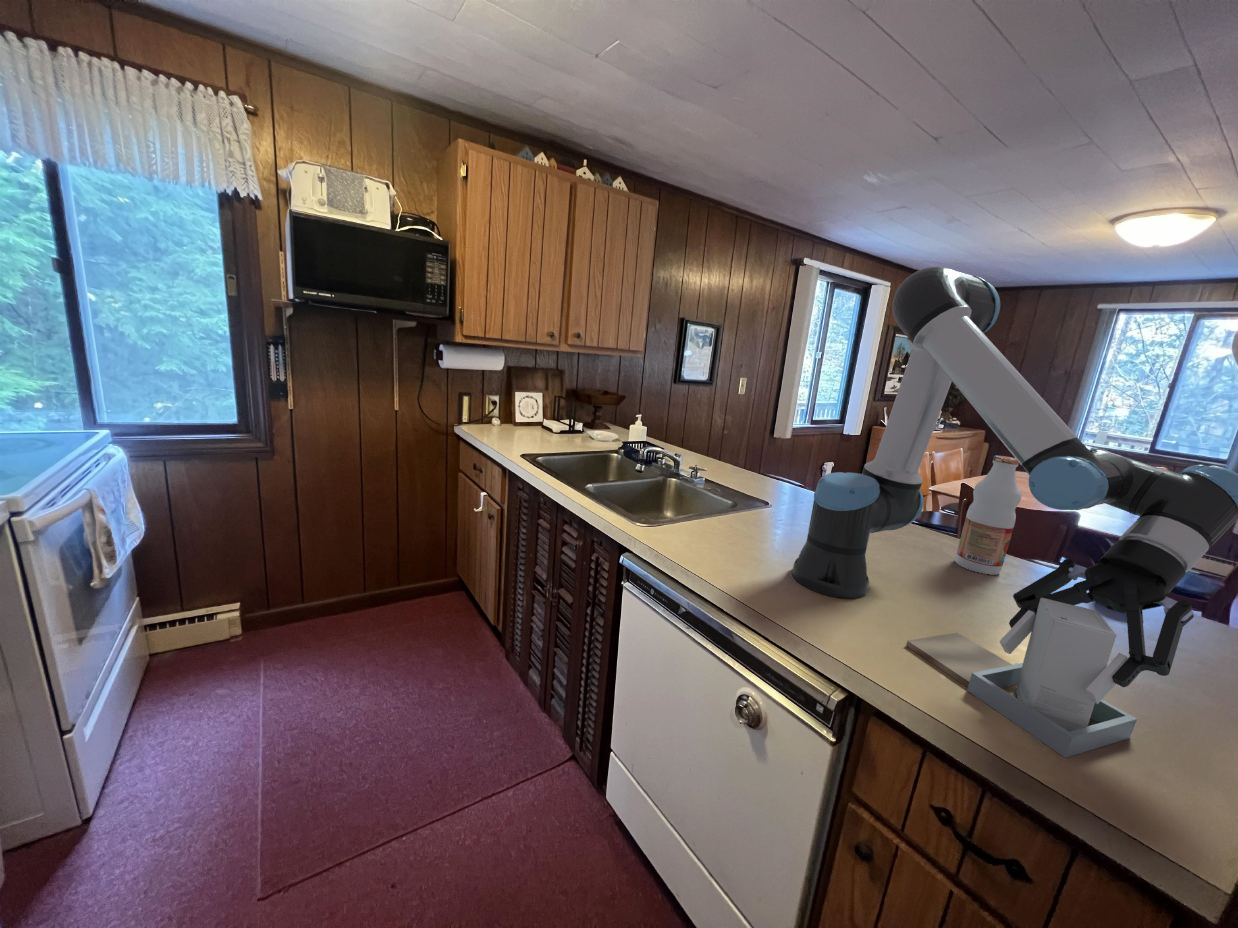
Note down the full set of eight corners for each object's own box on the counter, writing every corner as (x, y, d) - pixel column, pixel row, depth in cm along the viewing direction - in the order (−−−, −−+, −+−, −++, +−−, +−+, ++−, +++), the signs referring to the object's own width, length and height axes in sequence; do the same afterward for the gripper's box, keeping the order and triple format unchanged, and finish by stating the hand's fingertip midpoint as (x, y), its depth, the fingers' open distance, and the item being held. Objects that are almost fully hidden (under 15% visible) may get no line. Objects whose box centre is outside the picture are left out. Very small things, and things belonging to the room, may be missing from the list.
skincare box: (1083, 742, 64) (1121, 637, 60) (1019, 719, 67) (1052, 618, 63) (1067, 706, 71) (1101, 609, 67) (1011, 687, 74) (1039, 594, 70)
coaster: (906, 645, 83) (907, 640, 83) (956, 637, 87) (957, 632, 87) (969, 688, 73) (971, 682, 72) (1022, 677, 77) (1024, 671, 76)
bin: (966, 690, 72) (972, 672, 72) (1027, 677, 77) (1032, 660, 76) (1065, 757, 61) (1072, 737, 60) (1130, 737, 65) (1137, 718, 65)
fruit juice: (946, 557, 125) (973, 451, 119) (985, 561, 125) (1014, 455, 118) (968, 573, 116) (998, 459, 110) (1009, 578, 115) (1042, 464, 109)
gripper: (1278, 613, 59) (1160, 746, 57) (1064, 541, 79) (972, 638, 78) (1273, 576, 56) (1148, 716, 54) (1052, 512, 76) (956, 611, 75)
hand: (1045, 670), depth 66 cm, fingers closed on skincare box, 10 cm apart
